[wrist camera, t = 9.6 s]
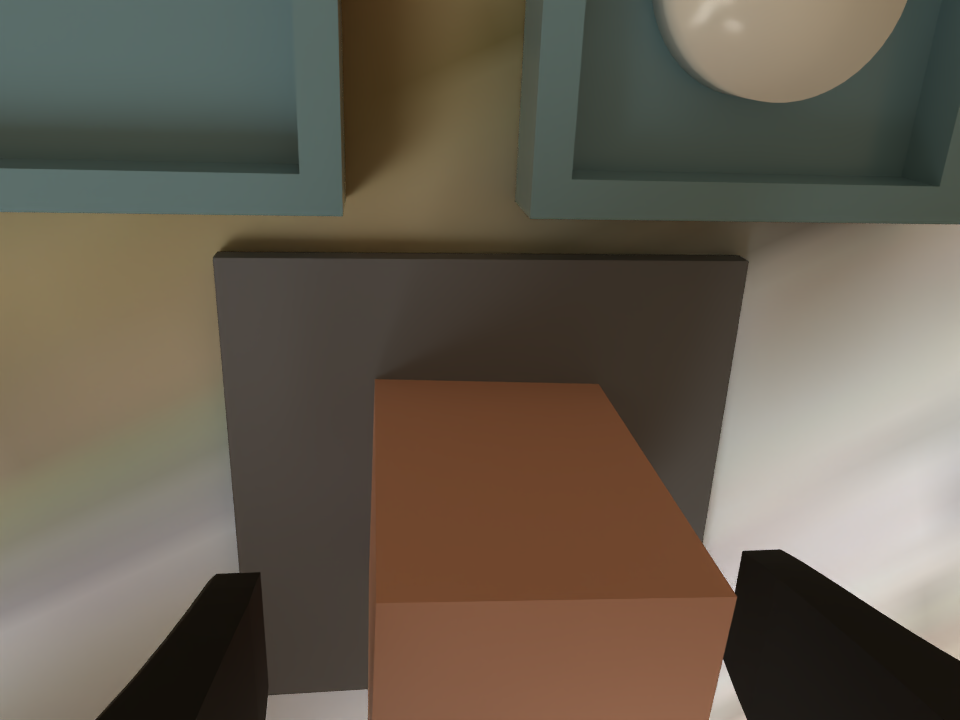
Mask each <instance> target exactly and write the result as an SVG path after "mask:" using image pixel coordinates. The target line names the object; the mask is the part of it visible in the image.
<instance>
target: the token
mask: <svg viewBox="0 0 960 720" xmlns="http://www.w3.org/2000/svg"><path fill="white" fill-rule="evenodd" d="M652 2H653V9H654V14H655V18H656V22H657V25H658V29H659V31H660V34H661V36H662V38H663V41H664V43H665V45H666V46H667V48H668V50H669V51H670V53H671V55H672V56H673V58H674V59H675V60H676V61H677V63H678V64H679V65H680V66H681V68H682V69H683V70H685V71H686V72H687V73H688V74H689V75H690V76H691V77H692V78H694V79H695V80H697V81H698V82H699V83H701V84H702V85H704V86H706V87H708V88H710V89H712V90H714V91H717V92H720V93H724V94H727V95H731V96H736V97H741V98H746V99H752V100H757V101H763V102H770V103H787V102H794V101H801V100H804V99H808V98H811V97H815V96H818V95H820V94H822V93H825V92H827V91H829V90H831V89H833V88H835V87H836V86H838V85H840V84H841V83H843V82H845V81H846V80H847V79H849V78H850V77H851V76H853V75H854V74H855V73H857V72H858V71H859V70H860V69H861V68H862V67H863V66H864V65H866V64H867V63H868V62H869V61H870V60H871V59H872V57H873V56H874V55H875V54H876V53H877V52H878V50H879V49H880V48H881V47H882V46H883V44H884V43H885V41H886V40H887V38H888V37H889V36H890V34H891V33H892V31H893V29H894V27H895V26H896V24H897V22H898V20H899V18H900V16H901V14H902V12H903V10H904V7H905V5H906V3H907V0H652Z"/></svg>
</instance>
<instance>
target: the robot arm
mask: <svg viewBox="0 0 960 720" xmlns="http://www.w3.org/2000/svg"><path fill="white" fill-rule="evenodd" d="M735 594H736V596H737V600H736V604H735V608H734V613H733V617H732V621H731V626H730V630H729V634H728V639H727V643H726V647H725V652H724V656H723V660H724V662H725V665H726V668H727V670H728V673H729V676H730V678H731V681H732V684H733V686H734V689H735V692H736V694H737V696H738V699H739V701H740V704H741V706H742V709H743V711H744V713H745V716H746V718H747V720H960V661H959V660H958V659H956V658H954V657H952V656H951V655H949V654H947V653H946V652H944V651H942V650H940V649H939V648H937V647H935V646H934V645H932V644H930V643H929V642H927V641H926V640H924V639H922V638H921V637H919V636H917V635H916V634H914V633H912V632H911V631H909V630H908V629H906V628H904V627H903V626H901V625H900V624H898V623H896V622H895V621H893V620H892V619H890V618H889V617H887V616H886V615H884V614H882V613H881V612H879V611H878V610H876V609H875V608H873V607H872V606H870V605H868V604H867V603H865V602H864V601H862V600H861V599H859V598H858V597H856V596H855V595H853V594H851V593H850V592H848V591H847V590H845V589H844V588H842V587H841V586H839V585H838V584H836V583H835V582H833V581H832V580H830V579H828V578H827V577H825V576H824V575H822V574H821V573H819V572H817V571H816V570H814V569H813V568H811V567H810V566H808V565H806V564H805V563H803V562H802V561H800V560H798V559H796V558H795V557H793V556H791V555H790V554H788V553H786V552H784V551H782V550H780V549H778V550H755V551H743V552H742V557H741V563H740V568H739V573H738V579H737V584H736V589H735ZM268 688H269V683H268V669H267V655H266V642H265V628H264V614H263V601H262V587H261V574H260V572H251V573H228V574H216V575H215V576H214V577H213V578H211V579H210V580H209V581H208V583H207V584H206V585H205V587H204V588H203V590H202V591H201V592H200V594H199V595H198V597H197V598H196V599H195V601H194V602H193V603H192V605H191V606H190V607H189V609H188V610H187V612H186V613H185V614H184V615H183V617H182V618H181V619H180V621H179V622H178V623H177V625H176V626H175V627H174V628H173V630H172V631H171V632H170V634H169V635H168V636H167V638H166V639H165V640H164V641H163V643H162V644H161V645H160V646H159V647H158V649H157V650H156V651H155V652H154V653H153V655H152V656H151V657H150V658H149V659H148V661H147V662H146V663H145V664H144V666H143V667H142V668H141V669H140V670H139V672H138V673H137V674H136V675H135V676H134V678H133V679H132V680H131V681H130V682H129V683H128V684H127V686H126V687H125V688H124V689H123V690H122V691H121V692H120V693H119V694H118V696H117V697H116V698H115V699H114V700H113V701H112V702H111V703H110V704H109V705H108V706H107V708H106V709H105V710H104V711H103V712H102V713H101V714H100V715H99V716H98V717H97V718H96V719H95V720H265V718H266V708H267V698H268Z"/></svg>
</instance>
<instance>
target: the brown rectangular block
mask: <svg viewBox="0 0 960 720" xmlns="http://www.w3.org/2000/svg"><path fill="white" fill-rule="evenodd" d="M736 600H737V596H736V594H735V593H734V591H733V590H732V588H731V587H730V585H729V584H728V582H727V581H726V579H725V577H724V576H723V574H722V573H721V571H720V570H719V568H718V567H717V565H716V564H715V562H714V561H713V559H712V557H711V556H710V554H709V553H708V551H707V550H706V548H705V547H704V545H703V544H702V542H701V541H700V539H699V537H698V536H697V534H696V533H695V531H694V530H693V528H692V527H691V525H690V524H689V522H688V521H687V519H686V517H685V516H684V514H683V513H682V511H681V510H680V508H679V507H678V505H677V504H676V502H675V501H674V499H673V497H672V496H671V494H670V493H669V491H668V490H667V488H666V487H665V485H664V484H663V482H662V481H661V479H660V477H659V476H658V474H657V473H656V471H655V470H654V468H653V467H652V465H651V464H650V462H649V461H648V459H647V458H646V456H645V454H644V453H643V451H642V450H641V448H640V447H639V445H638V444H637V442H636V441H635V439H634V438H633V436H632V434H631V433H630V431H629V430H628V428H627V427H626V425H625V424H624V422H623V421H622V419H621V418H620V416H619V414H618V413H617V411H616V410H615V408H614V407H613V405H612V404H611V402H610V401H609V399H608V398H607V396H606V394H605V393H604V391H603V390H602V388H601V387H600V385H599V384H578V383H530V382H483V381H435V380H388V379H375V390H374V424H373V457H372V490H371V524H370V557H369V649H368V720H709V716H710V712H711V708H712V703H713V699H714V695H715V690H716V686H717V682H718V678H719V673H720V669H721V665H722V660H723V656H724V652H725V647H726V643H727V639H728V634H729V630H730V626H731V621H732V617H733V613H734V608H735V604H736Z"/></svg>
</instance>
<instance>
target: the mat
mask: <svg viewBox="0 0 960 720" xmlns="http://www.w3.org/2000/svg"><path fill="white" fill-rule="evenodd" d="M748 263H749V261H747V260H746V259H744V258H742V257H741V256H736V255H599V254H462V253H325V252H217V253H216V254H215V256H214V257H213V266H214V278H215V289H216V301H217V313H218V324H219V336H220V348H221V360H222V371H223V383H224V395H225V407H226V418H227V430H228V442H229V454H230V465H231V477H232V489H233V500H234V512H235V524H236V536H237V547H238V559H239V571H240V573H251V572H260V574H261V587H262V601H263V614H264V628H265V642H266V655H267V669H268V683H269V688H268V695H279V694H295V693H311V692H328V691H344V690H360V689H368V649H369V557H370V524H371V490H372V457H373V424H374V390H375V379H388V380H435V381H483V382H530V383H578V384H599V385H600V387H601V388H602V390H603V391H604V393H605V394H606V396H607V398H608V399H609V401H610V402H611V404H612V405H613V407H614V408H615V410H616V411H617V413H618V414H619V416H620V418H621V419H622V421H623V422H624V424H625V425H626V427H627V428H628V430H629V431H630V433H631V434H632V436H633V438H634V439H635V441H636V442H637V444H638V445H639V447H640V448H641V450H642V451H643V453H644V454H645V456H646V458H647V459H648V461H649V462H650V464H651V465H652V467H653V468H654V470H655V471H656V473H657V474H658V476H659V477H660V479H661V481H662V482H663V484H664V485H665V487H666V488H667V490H668V491H669V493H670V494H671V496H672V497H673V499H674V501H675V502H676V504H677V505H678V507H679V508H680V510H681V511H682V513H683V514H684V516H685V517H686V519H687V521H688V522H689V524H690V525H691V527H692V528H693V530H694V531H695V533H696V534H697V536H698V537H699V539H700V541H701V542H703V536H704V530H705V524H706V518H707V511H708V505H709V499H710V493H711V487H712V481H713V475H714V469H715V463H716V457H717V451H718V445H719V439H720V433H721V427H722V420H723V414H724V408H725V402H726V396H727V390H728V384H729V378H730V372H731V366H732V360H733V354H734V348H735V342H736V335H737V329H738V323H739V317H740V311H741V305H742V299H743V293H744V287H745V281H746V275H747V269H748Z"/></svg>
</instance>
